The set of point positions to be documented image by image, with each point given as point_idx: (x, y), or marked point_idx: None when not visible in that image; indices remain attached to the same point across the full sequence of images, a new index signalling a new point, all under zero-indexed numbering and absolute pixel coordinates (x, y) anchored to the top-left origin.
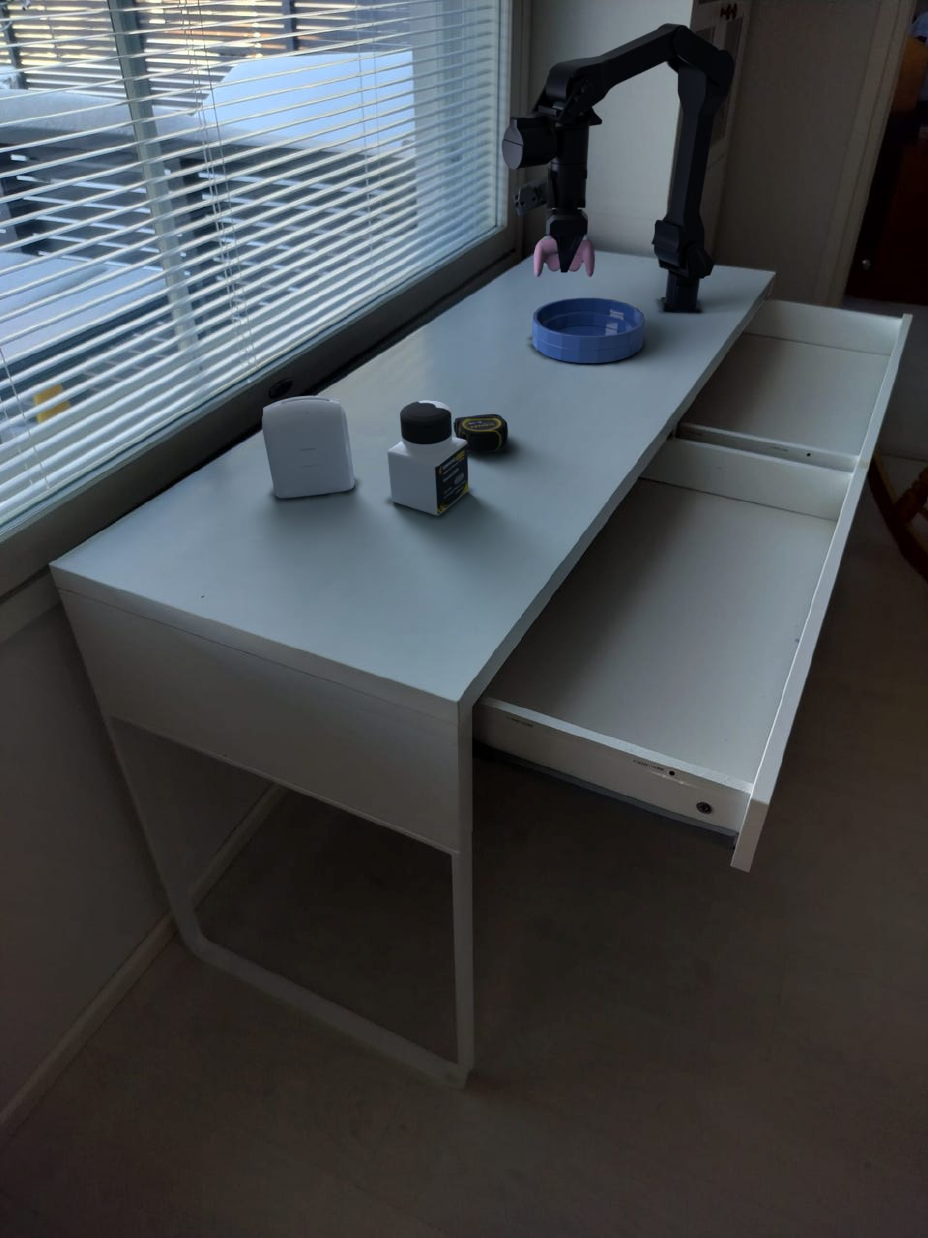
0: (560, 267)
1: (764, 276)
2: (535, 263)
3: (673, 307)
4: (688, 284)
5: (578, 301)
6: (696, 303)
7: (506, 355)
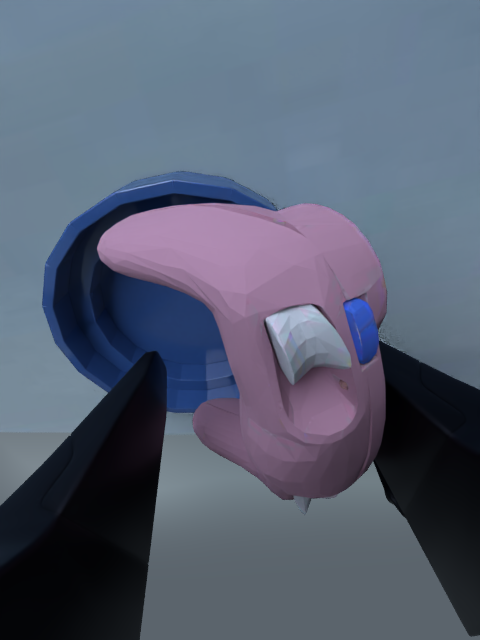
0: (132, 368)
1: None
2: (114, 238)
3: None
4: None
5: None
6: None
7: (26, 111)
